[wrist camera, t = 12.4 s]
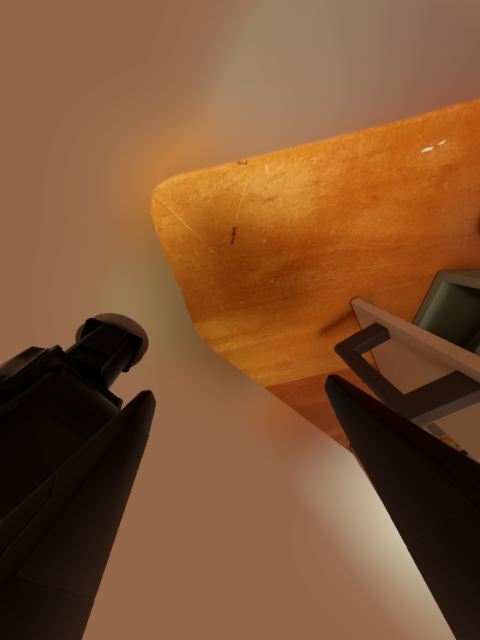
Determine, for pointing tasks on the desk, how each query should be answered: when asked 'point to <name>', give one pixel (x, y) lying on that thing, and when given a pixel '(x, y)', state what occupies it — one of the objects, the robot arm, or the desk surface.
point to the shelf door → (417, 374)
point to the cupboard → (453, 309)
